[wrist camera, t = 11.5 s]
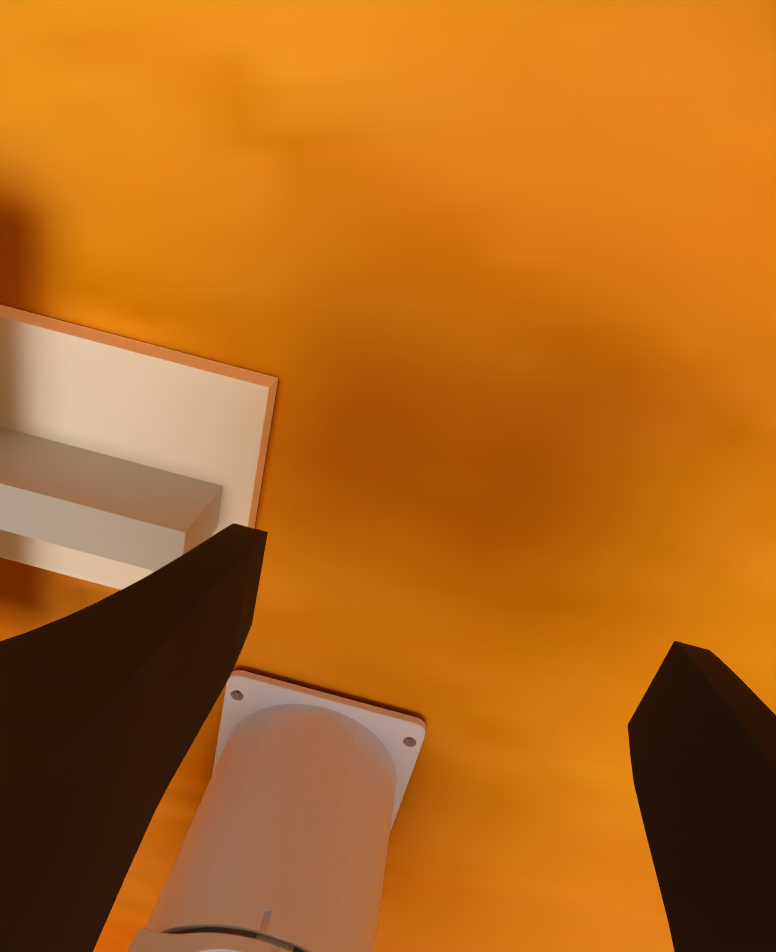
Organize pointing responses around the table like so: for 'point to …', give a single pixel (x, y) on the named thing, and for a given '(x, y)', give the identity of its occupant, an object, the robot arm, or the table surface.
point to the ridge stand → (121, 449)
